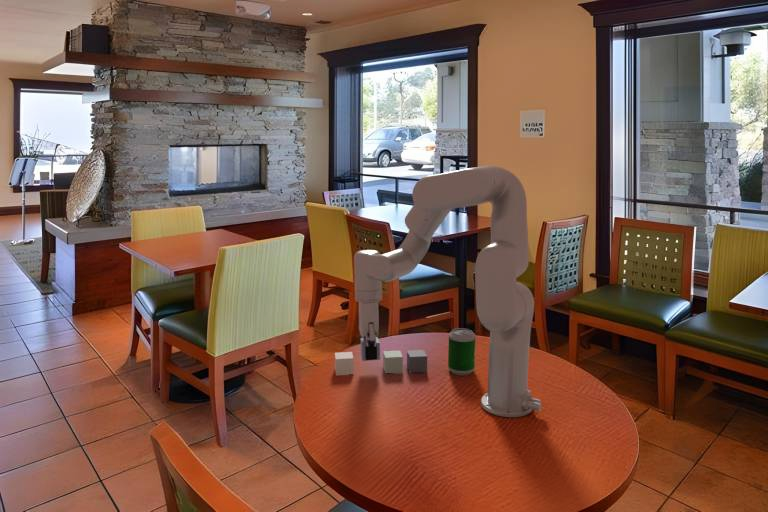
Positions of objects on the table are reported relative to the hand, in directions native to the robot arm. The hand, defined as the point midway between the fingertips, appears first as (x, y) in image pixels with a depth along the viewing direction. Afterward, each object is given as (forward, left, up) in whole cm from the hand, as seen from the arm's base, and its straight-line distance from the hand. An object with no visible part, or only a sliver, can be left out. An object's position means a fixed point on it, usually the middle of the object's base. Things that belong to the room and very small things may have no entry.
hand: (370, 355), depth 162 cm
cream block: (+6, +5, -5) cm, 9 cm away
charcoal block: (-10, -9, -5) cm, 14 cm away
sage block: (-5, -5, -5) cm, 8 cm away
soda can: (-21, -16, -5) cm, 27 cm away
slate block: (0, 0, -1) cm, 1 cm away
